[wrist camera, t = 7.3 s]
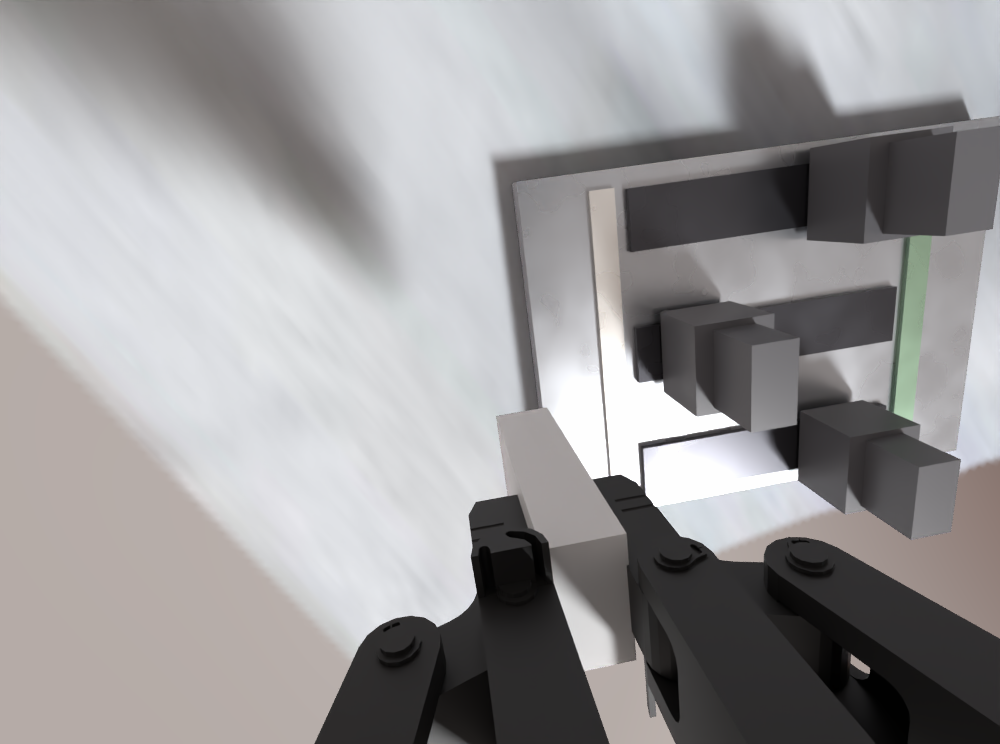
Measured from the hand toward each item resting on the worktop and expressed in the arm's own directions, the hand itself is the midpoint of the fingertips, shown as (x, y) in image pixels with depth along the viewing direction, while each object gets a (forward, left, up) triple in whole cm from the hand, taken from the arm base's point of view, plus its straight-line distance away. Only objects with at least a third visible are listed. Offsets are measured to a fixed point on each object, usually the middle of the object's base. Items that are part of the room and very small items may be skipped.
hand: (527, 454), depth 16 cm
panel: (0, +12, -8) cm, 14 cm away
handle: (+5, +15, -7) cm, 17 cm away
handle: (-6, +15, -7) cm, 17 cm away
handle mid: (0, +8, -7) cm, 11 cm away
